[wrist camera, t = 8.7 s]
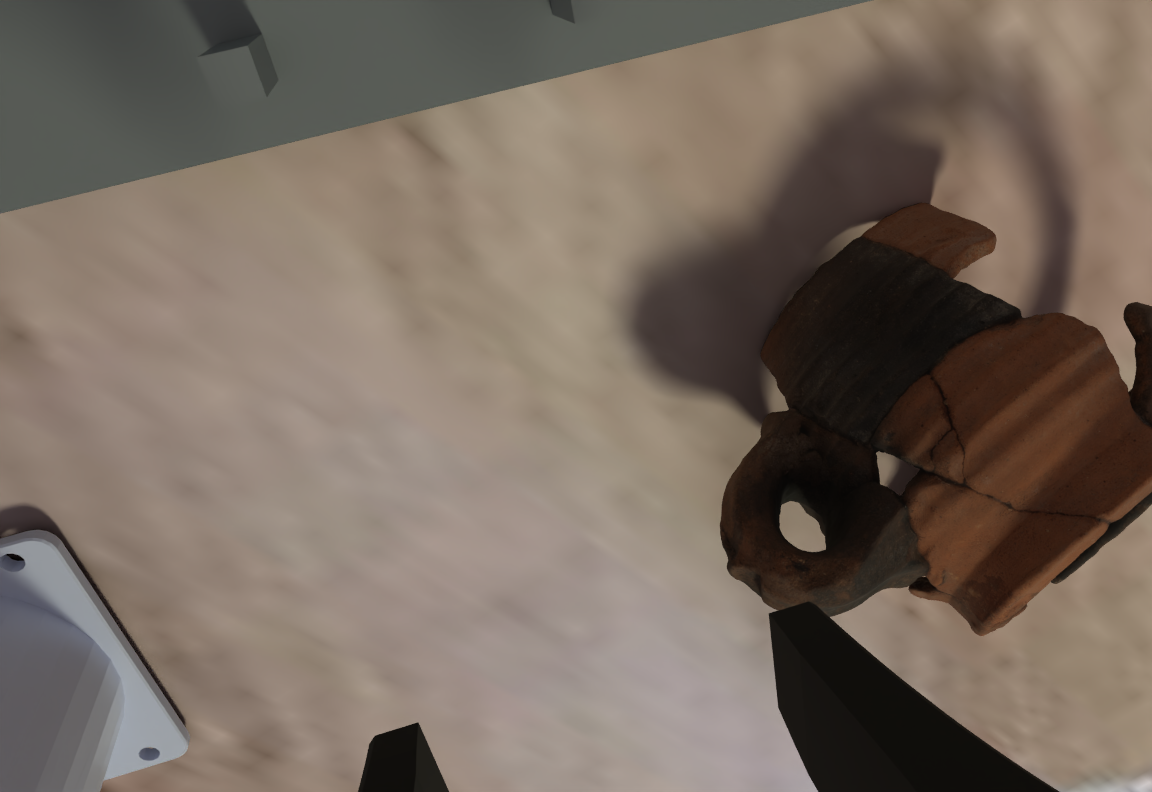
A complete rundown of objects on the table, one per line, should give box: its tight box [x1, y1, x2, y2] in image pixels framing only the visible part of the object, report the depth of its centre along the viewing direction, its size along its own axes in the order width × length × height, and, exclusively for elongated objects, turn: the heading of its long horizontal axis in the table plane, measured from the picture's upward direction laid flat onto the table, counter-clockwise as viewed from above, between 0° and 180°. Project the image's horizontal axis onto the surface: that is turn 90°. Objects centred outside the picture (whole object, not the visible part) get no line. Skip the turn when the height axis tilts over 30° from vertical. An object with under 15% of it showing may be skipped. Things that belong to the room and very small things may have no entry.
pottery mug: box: [720, 203, 1152, 636], centre depth 21 cm, size 12×10×8 cm
